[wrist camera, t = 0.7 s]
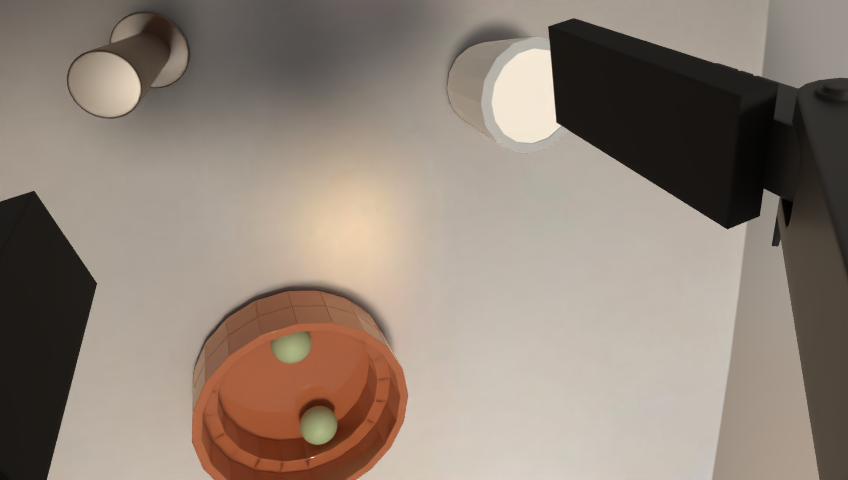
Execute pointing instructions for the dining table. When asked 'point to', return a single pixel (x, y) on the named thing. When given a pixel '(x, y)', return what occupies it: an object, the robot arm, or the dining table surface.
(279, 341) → the bead
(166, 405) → the dining table surface
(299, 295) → the bowl
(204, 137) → the dining table surface
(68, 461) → the dining table surface
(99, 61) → the stick
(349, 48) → the dining table surface
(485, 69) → the white cup
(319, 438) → the bead
